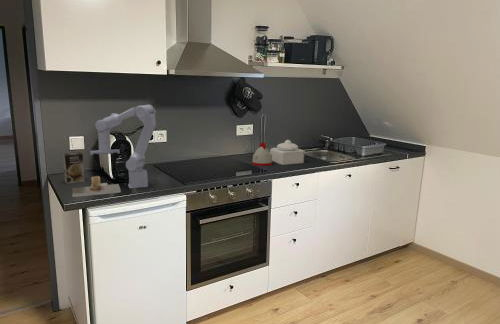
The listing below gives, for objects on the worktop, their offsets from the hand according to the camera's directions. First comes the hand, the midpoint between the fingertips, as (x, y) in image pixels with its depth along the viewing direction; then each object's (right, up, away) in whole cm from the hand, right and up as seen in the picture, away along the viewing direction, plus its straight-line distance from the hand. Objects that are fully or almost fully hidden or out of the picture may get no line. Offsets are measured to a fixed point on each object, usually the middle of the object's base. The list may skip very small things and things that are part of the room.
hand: (106, 167), depth 208 cm
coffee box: (-19, -9, +5) cm, 21 cm away
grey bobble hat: (+86, +1, +59) cm, 104 cm away
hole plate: (0, -13, -13) cm, 18 cm away
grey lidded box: (+104, +3, +67) cm, 123 cm away
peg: (0, -13, -13) cm, 18 cm away
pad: (-3, -10, -2) cm, 11 cm away
